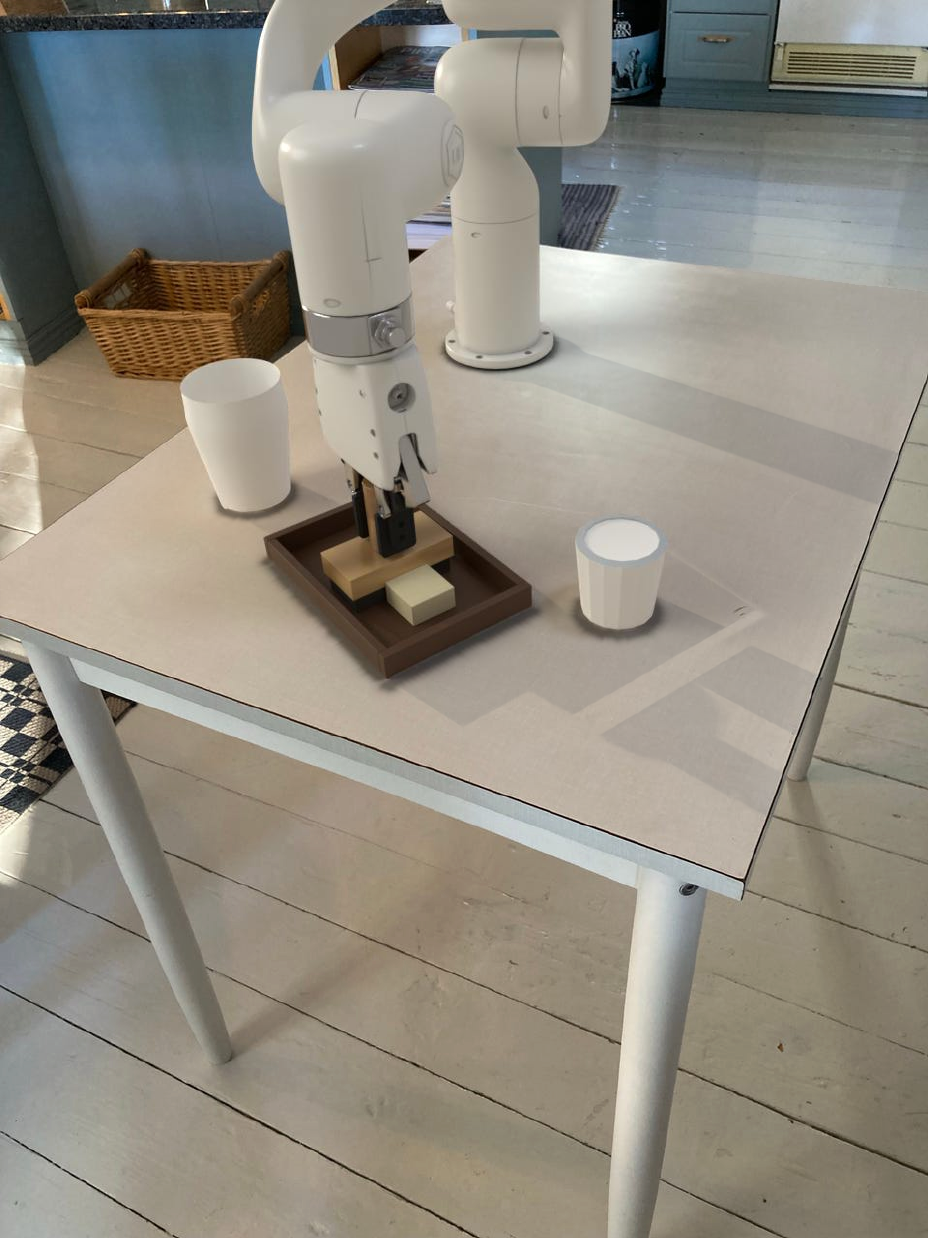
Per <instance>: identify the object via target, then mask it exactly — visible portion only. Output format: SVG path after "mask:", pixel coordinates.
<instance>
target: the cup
mask: <svg viewBox="0 0 928 1238" xmlns="http://www.w3.org/2000/svg"><path fill="white" fill-rule="evenodd" d="M179 390H180V394H181V399H182V405H183V410H184V417H185V422H186V424H187V427H188V430H189V432H190V435H191V437H192V439H193V441H194V444H195V446H196V448H197V451H198V453H199V456H200V458H201V460H202V463H203V465H204V467H205V469H206V472H207V474H208V476H209V479H210V481H211V484H212V486H213V488H214V490H215V493H216V496H217V498H218V500H219V502H220V504H221V506H222V508H223V509H225V510H228V509H229V510H231V511H235V512H241V513H251V512H259V511H263V510H267V509H270V508H272V507H274V506H276V505H278V504H280V503H281V502H283V501H285V499H286V498H287V497H289V494H290V492H291V456H290V455H291V454H290V452H291V451H290V423H289V422H290V421H289V420H290V419H289V402H288V398H287V395H286V392H285V387H284V384H283V380H282V376H281V371H280V369H279V367H278V366H276V365H275V364H274V363H272V362H270V361H266V360H263V359H260V358H259V359H258V358H250V357H249V358H248V357H240V358H239V357H238V358H237V357H236V358H228V359H222V360H217V361H214V362H210V363H207V364H204V365H202V366H200V367H198V368H195V369H194V370H192V371H191V372H189V373H188V374H187V375H186V376H185V377H183V379H182V381H181V382H180V384H179Z"/></svg>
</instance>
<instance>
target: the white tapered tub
mask: <svg viewBox="0 0 928 1238" xmlns="http://www.w3.org/2000/svg"><path fill="white" fill-rule="evenodd" d="M574 543H575V554H576V566H577V567H576V568H577V577H578V578H577V579H578V591H579V600H580V607H581V611H582V614H583V615H584V616H585V617H586V618H587V620H589V621H590V622H591V623H593V624H595V625H598V626H600V627H601V628H606V629H611V630H626V629H633V628H636V627H638V626H641V625H644V624H645V623H646V622H647V621H648V620H649V619H650V618H652V616H653V614H654V610H655V606H656V602H657V597H658V592H659V587H660V582H661V577H662V572H663V568H664V563H665V558H666V554H667V549H668V544H669V540H668V537H667V535H666V532H665V530H664V529H662V528H661V526H659V525H658V524H656V523H655V522H654V521H652V520H649V519H646V518H644V517H641V516H638V515H631V514H623V513H618V514H607V515H601V516H598V517H597V518H594V519H591V520H588V521H587V522H586V523H585V524H583V525H582V526H581V527H580V528H578V530H577V533H576V536H575V539H574Z"/></svg>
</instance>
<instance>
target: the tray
mask: <svg viewBox="0 0 928 1238" xmlns="http://www.w3.org/2000/svg"><path fill="white" fill-rule="evenodd" d="M400 490H401V486H400V484H398V485H397V492H398V491H400ZM420 510H421V511H422V512H423V513H425V514H426V515H427V516H428V517H430V518H431V519H432V520H433V521H435V522H436V523H437V524H438V525H440V526H441V527H442V528H443V529H445V530H446V531H447V532H448V533H450V534H451V535H452V536H453V550H454V556H451V557H450V569H451V570H450V571H448V572H445V573H443V574H441V576H442V577H443V578H444V579H445V580H446V581H448V582H449V583H450V584H451V585H452V586H453V587H454V591H455V605H456V606H455V607H453V608H451V609H449V610H447V611H445V612H443V613H441V614H439V615H437V616H435V617H432V618H430V619H428V620H426V621H424V622H422V623H420V624H418V625H416V626H413V625H412V624H411V623H410V622H409V621H408V620H407V619H405V618H404V617H403V616H402V615H401V614H400V613H399V612H398V611H397V610H396V609H395V608H394V607H393V606H392V605H391V604H390V603H388V601H387V600H385V601H383V602H380V603H378V604H376V605H374V606H372V607H370V608H367V609H365V610H363V611H361V612H359V613H357V612H356V611H355V610H354V609H353V608H352V607H351V606H350V605H349V604H348V603H347V602H346V601H345V600H344V599H343V598H342V597H341V596H340V595H339V594H338V593H337V592H336V591H335V590H334V589H333V588H332V587H331V584H330V578H329V577H328V576H327V575H326V574H325V573H324V569H323V564H322V558H321V552H323V551H326V550H328V549H330V548H333V547H335V546H337V545H340V544H342V543H344V542H347V541H349V540H352V539H354V538H356V537H359V536H358V534H357V530H356V523H355V516H354V510H353V503H352V500H351V501H348V502H346V503H344V504H342V505H338V506H336V507H334V508H331V509H329V510H326V511H323V512H322V513H320V514H316V515H314V516H311V517H309V518H306V519H305V520H302V521H299V522H297V523H294V524H293V525H290V526H287V527H285V528H282V529H280V530H278V531H275V532H273V533H270V534H268V535H265V536H263V537H262V538H263V543H264V547H265V553H266V556H267V558H268V559H269V560H270V561H271V563H273V564H274V565H275V567H276V568H278V569H279V571H280V572H281V573H283V574H284V575H285V577H286V578H287V579H289V581H290V582H291V583H292V584H293V585H294V586H295V587H296V589H298V590H299V591H300V592H301V594H303V595H304V597H306V598H307V599H308V600H309V602H311V603H312V604H313V606H315V608H316V609H317V610H318V611H319V612H320V613H322V615H323V616H324V617H325V618H326V620H328V621H329V622H330V623H331V624H332V625H333V626H334V627H335V628H336V629H337V630H338V631H339V632H340V633H341V635H342V636H344V637H345V638H346V639H347V640H348V642H350V644H352V645H353V647H355V648H356V649H357V651H358V652H359V653H360V654H361V655H362V656H363V657H364V658H365V659H366V660H367V661H368V662H369V664H371V665H372V666H373V667H374V668H375V669H376V670H377V671H378V672H379V673H380V674H381V675H382V676H383V677H384V678H385V679H386V680H388V679H389V678H392V677H393V676H395V675H397V674H399V673H401V672H404V671H405V670H407V669H409V668H411V667H413V666H415V665H417V664H419V663H421V662H424V661H425V660H427V659H429V658H431V657H434V656H436V655H437V654H439V653H441V652H443V651H445V650H447V649H449V648H451V647H453V646H455V645H457V644H459V643H461V642H463V641H465V640H468V639H470V638H471V637H473V636H475V635H478V634H479V633H481V632H483V631H485V630H487V629H489V628H491V627H493V626H495V625H497V624H499V623H501V622H503V621H505V620H507V619H509V618H511V617H512V616H515V615H517V614H519V613H521V612H523V611H525V610H527V609H528V608H531V607H532V606H533V589H532V587H533V586H532V584H530V583H529V582H528V581H526V579H524V578H523V577H522V576H520V575H519V574H517V573H516V572H515V571H513V569H511V568H510V567H508V566H507V565H506V564H504V563H503V562H502V561H501V560H499V559H498V558H497V557H495V556H494V555H493V554H492V553H491V552H489V551H487V550H486V548H484V547H483V546H481V545H480V544H479V543H477V542H476V541H475V540H474V539H472V538H471V537H469V536H468V535H467V534H466V533H464V531H462V530H461V529H459V528H458V527H457V526H456V525H454V524H453V523H452V522H451V521H449V520H447V518H445V517H444V516H443V515H441V514H440V513H439V512H437V511H436V510H435V509H433V508H432V507H431V506H429V504H428V503H425V504H423V505H421V506H418V507H416V508H413V512H414V513H415V512H418V511H420Z"/></svg>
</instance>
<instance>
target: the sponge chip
mask: <svg viewBox="0 0 928 1238" xmlns="http://www.w3.org/2000/svg"><path fill="white" fill-rule="evenodd" d="M385 587H386V594H387V601H388V603H390V604H391V605H392V606H393V607H394V608H395V609H396V610H397V611H398V612H399V613H400V614H401V615H402V616H403V617H404V618H405V619H407V620H408V621H409V622H410V623H411V624H412V625H413V626H416V625H418V624H420V623H422V622H424V621H426V620H428V619H430V618H432V617H435V616H437V615H439V614H441V613H443V612H445V611H447V610H449V609H451V608H453V607H455V606H456V605H455V591H454V587H453V586H452V585H451V584H450V583H449V582H448V581H446V580H445V579H444V578H443V577H442V576H441V575H439V574H438V573H437V572H436V571H435V570H434V569H432V568H431V567H430V566H429V565H428V564H425V565H422V566H420V567H418V568H416V569H413V570H411V571H409V572H407V573H405V574H402V575H400V576H398V577H396V578H393V579H391V580H389V581H387V582H385Z"/></svg>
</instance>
